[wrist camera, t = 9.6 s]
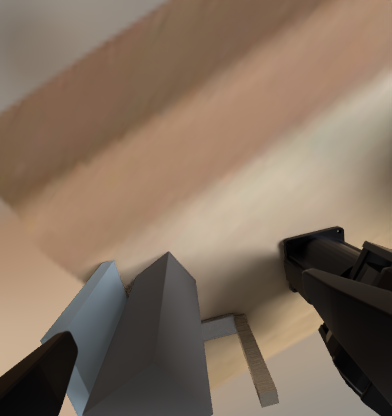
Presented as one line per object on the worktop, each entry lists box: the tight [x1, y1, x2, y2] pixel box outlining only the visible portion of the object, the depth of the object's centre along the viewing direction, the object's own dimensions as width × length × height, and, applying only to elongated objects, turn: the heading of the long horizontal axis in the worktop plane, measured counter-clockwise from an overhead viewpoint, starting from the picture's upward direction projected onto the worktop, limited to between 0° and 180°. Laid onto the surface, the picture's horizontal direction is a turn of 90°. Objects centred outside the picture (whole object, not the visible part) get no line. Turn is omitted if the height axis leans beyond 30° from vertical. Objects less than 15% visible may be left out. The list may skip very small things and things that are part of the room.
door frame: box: [201, 313, 279, 407], centre depth 18 cm, size 13×2×10 cm, turn 103°
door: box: [40, 260, 128, 416], centre depth 17 cm, size 10×3×9 cm, turn 13°
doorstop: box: [82, 252, 213, 416], centre depth 16 cm, size 4×4×12 cm
